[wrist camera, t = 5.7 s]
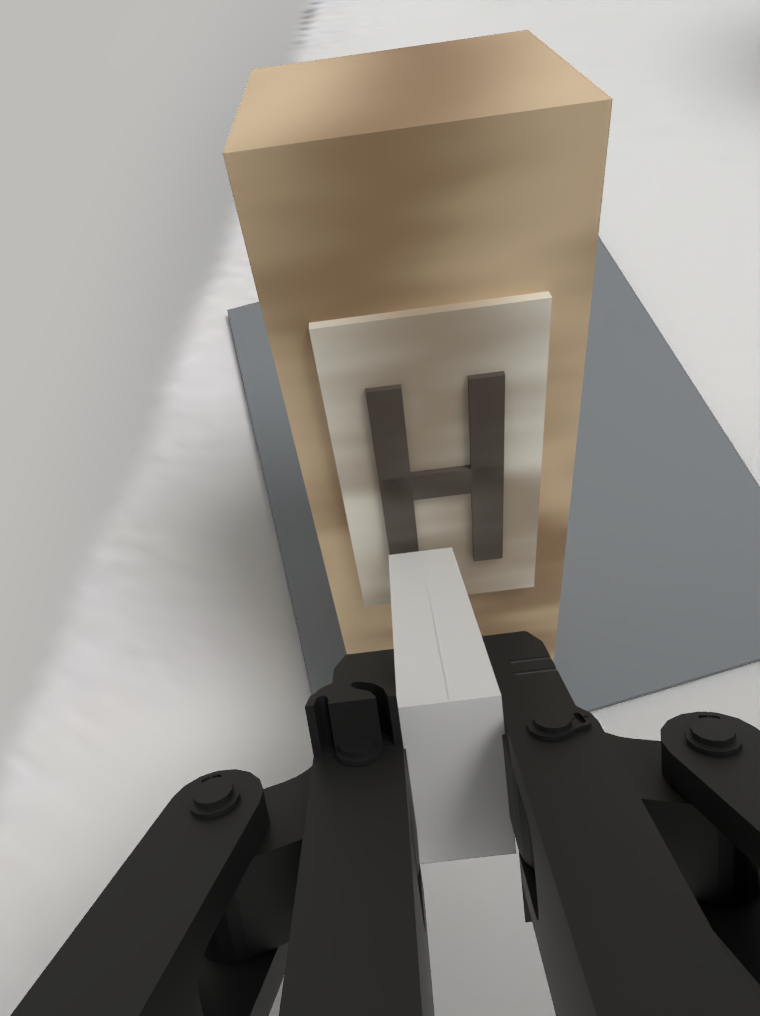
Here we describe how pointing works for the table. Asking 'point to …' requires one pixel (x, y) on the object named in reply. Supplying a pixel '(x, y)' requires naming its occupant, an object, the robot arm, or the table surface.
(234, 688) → the table surface
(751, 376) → the table surface
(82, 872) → the table surface
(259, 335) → the mat
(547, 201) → the letter block
